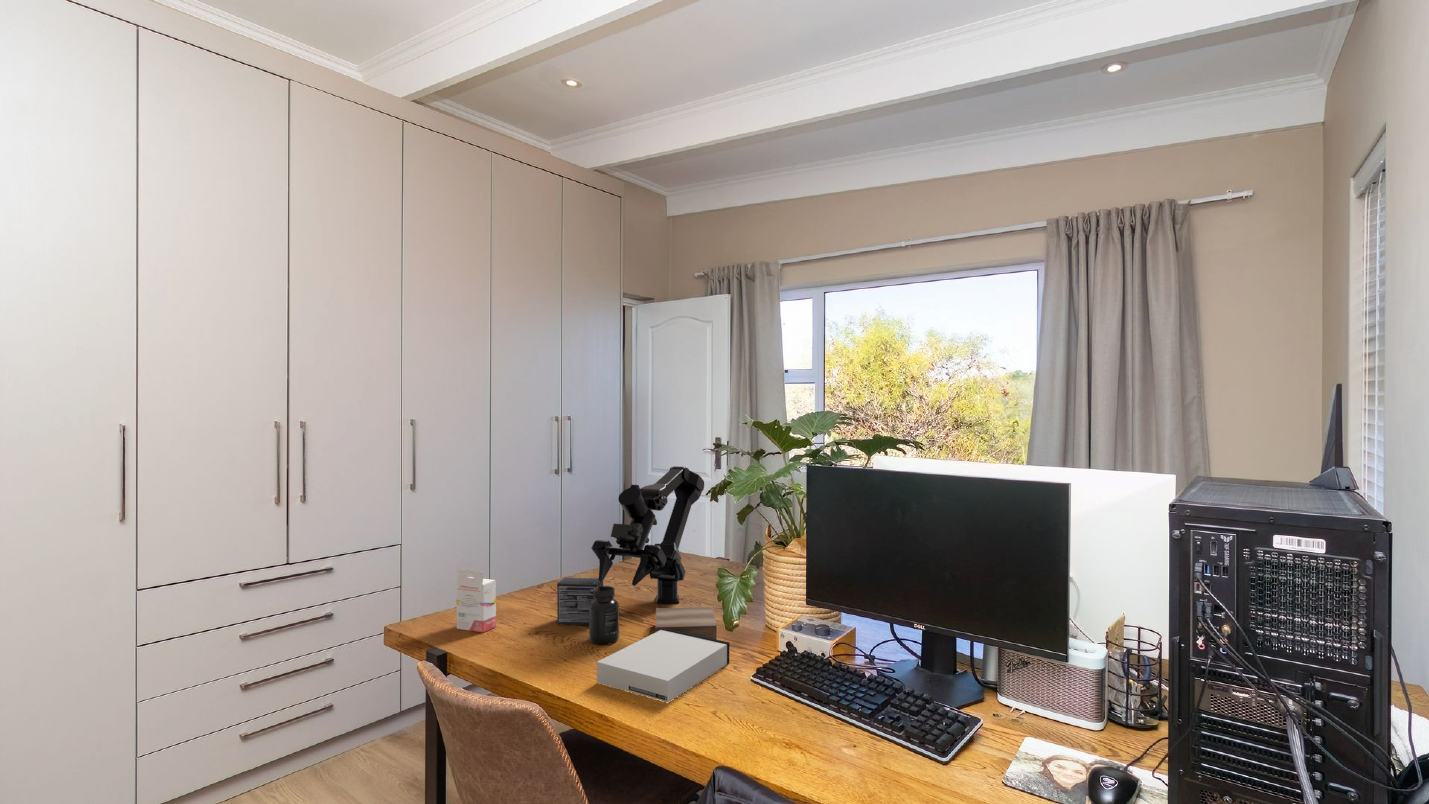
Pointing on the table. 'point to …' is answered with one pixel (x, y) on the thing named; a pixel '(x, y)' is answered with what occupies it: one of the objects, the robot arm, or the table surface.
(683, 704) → the table surface
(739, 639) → the table surface
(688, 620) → the walnut block
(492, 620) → the ink cartridge box
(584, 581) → the small box
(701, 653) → the disc drive
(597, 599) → the supplement bottle
